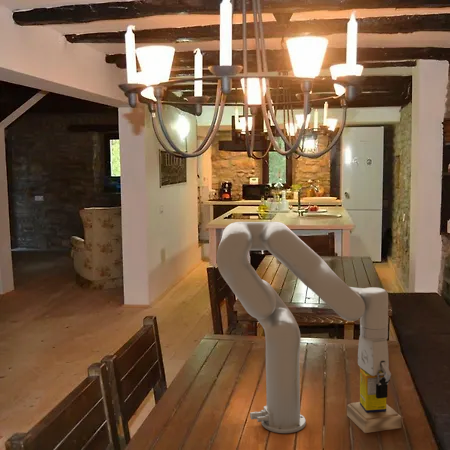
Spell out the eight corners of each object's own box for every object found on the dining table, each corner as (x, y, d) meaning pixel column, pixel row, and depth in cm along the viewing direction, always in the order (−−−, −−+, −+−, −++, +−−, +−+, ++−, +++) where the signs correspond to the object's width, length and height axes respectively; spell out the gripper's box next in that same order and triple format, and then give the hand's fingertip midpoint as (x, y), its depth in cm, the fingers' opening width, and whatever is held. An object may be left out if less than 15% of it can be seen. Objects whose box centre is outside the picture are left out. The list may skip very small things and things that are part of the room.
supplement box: (379, 402, 163) (379, 366, 162) (386, 411, 157) (387, 374, 156) (359, 404, 162) (359, 367, 161) (366, 413, 157) (366, 375, 155)
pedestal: (364, 433, 153) (364, 419, 153) (347, 415, 164) (347, 402, 164) (401, 427, 156) (401, 414, 155) (381, 411, 167) (381, 398, 166)
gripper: (347, 324, 165) (347, 381, 167) (376, 342, 148) (376, 405, 150) (371, 322, 166) (370, 378, 168) (402, 340, 149) (401, 402, 151)
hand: (373, 390), depth 159 cm, fingers open, 8 cm apart
